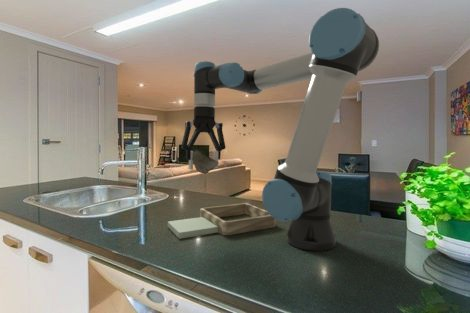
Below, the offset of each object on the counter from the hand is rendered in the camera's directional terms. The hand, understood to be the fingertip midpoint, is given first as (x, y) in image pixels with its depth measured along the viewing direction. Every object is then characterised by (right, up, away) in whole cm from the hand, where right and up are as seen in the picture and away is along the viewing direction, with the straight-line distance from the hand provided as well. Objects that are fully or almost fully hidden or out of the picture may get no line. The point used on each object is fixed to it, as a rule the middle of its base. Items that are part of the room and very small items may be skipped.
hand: (203, 168), depth 101 cm
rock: (+2, -1, -3) cm, 3 cm away
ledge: (-4, -22, -1) cm, 22 cm away
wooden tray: (+12, -22, +7) cm, 26 cm away
